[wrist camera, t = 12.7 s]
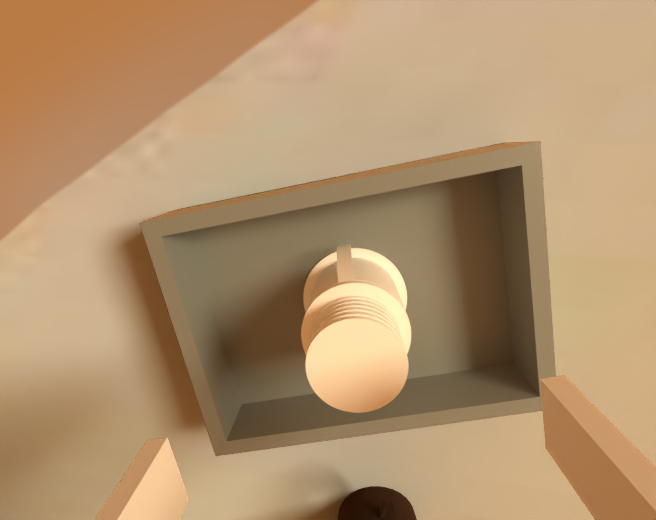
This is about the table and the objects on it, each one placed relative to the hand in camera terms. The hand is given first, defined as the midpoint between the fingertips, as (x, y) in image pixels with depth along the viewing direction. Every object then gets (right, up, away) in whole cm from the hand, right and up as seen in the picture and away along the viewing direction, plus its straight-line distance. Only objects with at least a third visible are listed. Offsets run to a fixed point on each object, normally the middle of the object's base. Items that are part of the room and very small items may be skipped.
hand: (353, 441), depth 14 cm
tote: (+1, +4, +15) cm, 15 cm away
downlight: (+1, +4, +14) cm, 14 cm away
